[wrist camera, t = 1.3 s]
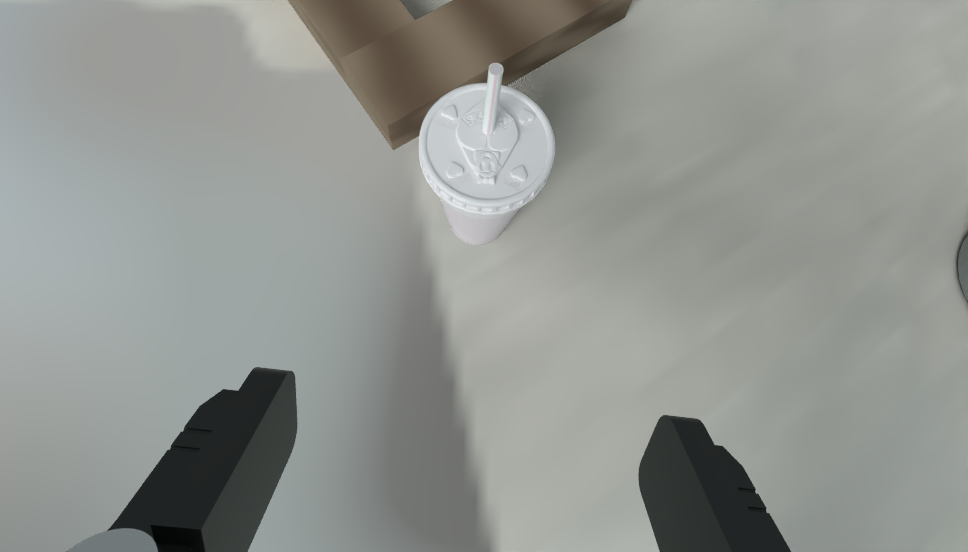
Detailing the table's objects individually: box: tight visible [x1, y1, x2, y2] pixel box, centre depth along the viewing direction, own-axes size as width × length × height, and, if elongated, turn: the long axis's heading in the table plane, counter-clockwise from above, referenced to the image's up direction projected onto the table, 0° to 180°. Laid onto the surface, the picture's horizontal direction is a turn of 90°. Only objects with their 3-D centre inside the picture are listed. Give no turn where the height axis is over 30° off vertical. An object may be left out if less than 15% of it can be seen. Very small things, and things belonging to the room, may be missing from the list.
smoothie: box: [419, 63, 555, 245], centre depth 25 cm, size 6×6×14 cm
